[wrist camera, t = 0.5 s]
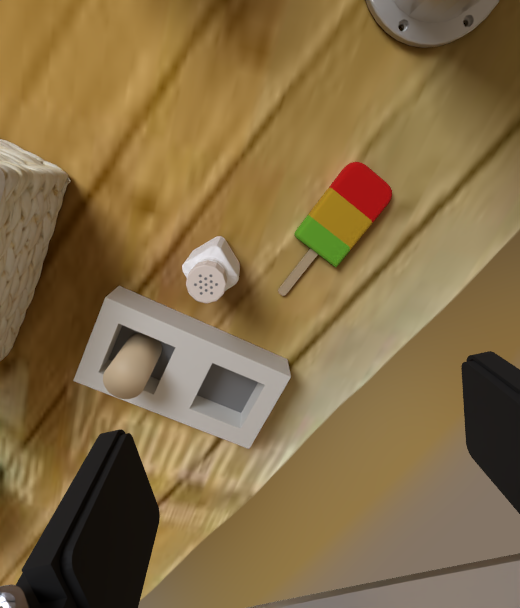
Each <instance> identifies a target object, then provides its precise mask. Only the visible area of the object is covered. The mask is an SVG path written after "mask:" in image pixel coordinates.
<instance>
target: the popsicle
mask: <svg viewBox="0 0 520 608" xmlns="http://www.w3.org/2000/svg"><path fill="white" fill-rule="evenodd" d="M391 197H392V190H391V188H390V186H389V185H388V184H387V183H386V182H385V181H384V180H383V179H381V178H380V177H379V176H378V175H377V174H376V173H374V172H373V171H372V170H371V169H370V168H369V167H367V166H366V165H364V164H363V163H360V162H353V163H350V164H348V165H347V166H346V167H345V168H344V169H343V170H342V171H341V172H340V174H339V175H338V176H337V178H336V179H335V180H334V182H333V183H332V184H331V186H330V187H329V188H328V189H327V191H326V192H325V193H324V195H323V196H322V197H321V199H320V200H319V201H318V203H317V204H316V205H315V207H314V208H313V209H312V210H311V212H310V213H309V214H308V216H307V217H306V218H305V220H304V221H303V222H302V224H301V225H300V226H299V227H298V229H297V230H296V232H295V236H296V238H297V239H299V240H300V241H301V242H303V243H304V244H305V245H307V246H308V247H309V248H310V249H309V251H308V252H307V253H306V255H305V256H304V257H303V258H302V260H301V261H300V262H299V263H298V265H297V266H296V267H295V269H294V270H293V271H292V272H291V274H290V275H289V276H288V277H287V279H286V280H285V281H284V283H283V284H282V285H281V286H280V288H279V289H278V292H279V294H281V295H282V296H285V295H286V294H287V293H288V292H289V290H290V289H291V288H292V287H293V285H294V284H295V283H296V282H297V280H298V279H299V278H300V276H301V275H302V274H303V273H304V271H305V270H306V269H307V268H308V266H309V265H310V264H311V263H312V261H313V260H314V259H315V258H316V256H317V255H320V256H321V257H322V258H324V259H325V260H326V261H328V262H329V263H330V264H332V265H333V266H334V267H337V266H338V265H339V263H340V262H341V261H342V260H343V259H344V257H345V256H346V255H347V254H348V252H349V251H350V250H351V249H352V248H353V246H354V245H355V244H356V243H357V241H358V240H359V239H360V238H361V237H362V235H363V234H364V233H365V232H366V230H367V229H368V228H369V227H370V226H371V224H372V223H373V222H374V221H375V219H376V218H377V217H378V216H379V215H380V213H381V212H382V211H383V210H384V208H385V207H386V206H387V205H388V203H389V202H390V200H391Z"/></svg>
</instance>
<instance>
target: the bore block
mask: <svg viewBox="0 0 520 608" xmlns="http://www.w3.org/2000/svg"><path fill="white" fill-rule="evenodd" d="M290 378H291V375H290V370H289V365H288V360H287V359H286V358H283V357H281V356H279V355H276V354H274V353H272V352H270V351H267V350H265V349H263V348H260V347H258V346H256V345H254V344H251V343H249V342H247V341H244V340H242V339H240V338H238V337H235V336H233V335H231V334H228V333H226V332H224V331H222V330H219V329H217V328H215V327H212V326H210V325H208V324H206V323H203V322H201V321H199V320H196V319H194V318H192V317H190V316H187V315H185V314H183V313H180V312H178V311H176V310H174V309H171V308H169V307H167V306H164V305H162V304H160V303H158V302H155V301H153V300H151V299H148V298H146V297H144V296H142V295H139V294H137V293H135V292H132V291H130V290H128V289H126V288H123V287H121V286H118V287H117V288H116V289H114V290H113V291H112V292H111V293H110V294H109V295H107V296H106V297H105V299H104V302H103V305H102V307H101V310H100V313H99V315H98V318H97V320H96V323H95V326H94V328H93V331H92V333H91V336H90V339H89V341H88V344H87V346H86V349H85V352H84V354H83V357H82V359H81V362H80V365H79V367H78V370H77V372H76V375H75V378H74V380H73V381H75V382H77V383H80V384H83V385H85V386H88V387H90V388H93V389H95V390H98V391H101V392H103V393H106V394H108V395H111V396H114V397H116V398H119V399H121V400H124V401H126V402H129V403H132V404H134V405H137V406H139V407H142V408H145V409H147V410H150V411H152V412H155V413H157V414H160V415H163V416H165V417H168V418H170V419H173V420H176V421H178V422H181V423H183V424H186V425H188V426H191V427H194V428H196V429H199V430H201V431H204V432H207V433H209V434H212V435H214V436H217V437H219V438H222V439H225V440H227V441H230V442H232V443H235V444H238V445H240V446H243V447H245V448H248V449H249V448H250V447H251V445H252V443H253V442H254V440H255V438H256V436H257V435H258V433H259V431H260V430H261V428H262V426H263V424H264V423H265V421H266V419H267V417H268V416H269V414H270V412H271V411H272V409H273V407H274V405H275V404H276V402H277V400H278V398H279V397H280V395H281V393H282V392H283V390H284V388H285V386H286V385H287V383H288V381H289V380H290Z"/></svg>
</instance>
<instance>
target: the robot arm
mask: <svg viewBox="0 0 520 608" xmlns="http://www.w3.org/2000/svg"><path fill="white" fill-rule="evenodd" d="M498 2H499V0H366V3H367V5H368V8H369V10H370V12H371V14H372V15H373V17H374V19H375V20H376V22H377V23H378V24H379V25H380V26H381V27H382V29H383V30H384V31H385V32H386V33H387V34H389V35H390V36H392V37H393V38H394V39H396V40H397V41H400V42H402V43H405V44H407V45H409V46H415V47H421V48H427V47H438V46H441V45H445V44H448V43H451V42H453V41H455V40H457V39H459V38H461V37H463V36H464V35H466V34H467V33H469V32H470V31H472V30H473V29H475V28H476V27H477V26H478V25H479V24H480V23H481V22H482V21H483V20H484V19H486V18H487V17H488V15H489V14H490V13H491V11H492V10H493V9H494V8H495V6H496V5H497V4H498ZM463 22H465V26H464V24H463ZM398 26H401V27H402V31H400V30H399V28H398ZM462 383H463V399H464V416H465V431H466V445H467V449H468V451H469V453H470V455H471V457H472V458H473V459H474V460H475V462H476V463H477V464H478V465H479V466H480V467H481V469H482V470H483V471H484V472H485V473H486V475H487V476H488V477H489V478H490V479H491V481H492V482H493V483H494V484H495V485H496V486H497V487H498V489H499V490H500V491H501V492H502V494H503V495H504V496H505V497H506V498H507V499H508V501H509V502H510V503H511V504H512V505H513V507H514V508H515V509H516V510H517V511H518V512H519V514H520V370H519V369H518V368H516V367H515V366H513V365H512V364H510V363H509V362H507V361H506V360H504V359H503V358H501V357H500V356H498V355H497V354H495V353H494V352H491V351H490V352H484V353H480V354H475V355H470V356H468V358H467V362H464V363H463V364H462ZM159 518H160V515H159V508H158V505H157V502H156V499H155V497H154V494H153V491H152V489H151V486H150V483H149V480H148V478H147V475H146V472H145V470H144V467H143V464H142V461H141V459H140V456H139V453H138V451H137V448H136V445H135V443H134V440H133V437H132V435H131V434H130V433H127V434H125V432H124V431H123V430H116V431H111V432H107V433H102V434H100V435H99V436H98V438H97V440H96V442H95V443H94V445H93V447H92V449H91V450H90V452H89V454H88V455H87V457H86V459H85V461H84V462H83V464H82V466H81V468H80V469H79V471H78V473H77V475H76V476H75V478H74V480H73V482H72V483H71V485H70V487H69V488H68V490H67V492H66V494H65V495H64V497H63V499H62V501H61V502H60V504H59V506H58V508H57V509H56V511H55V513H54V515H53V516H52V518H51V520H50V521H49V523H48V525H47V527H46V528H45V530H44V532H43V534H42V535H41V537H40V539H39V541H38V542H37V544H36V546H35V548H34V549H33V551H32V553H31V554H30V556H29V558H28V560H27V561H26V563H25V565H24V567H23V568H22V572H23V573H22V575H21V577H20V578H19V580H18V582H17V584H16V586H15V585H6V586H1V587H0V608H138V605H139V601H140V597H141V593H142V589H143V585H144V581H145V577H146V573H147V569H148V565H149V561H150V557H151V553H152V549H153V545H154V541H155V537H156V533H157V529H158V525H159ZM248 608H520V554H515V555H509V556H504V557H499V558H494V559H489V560H483V561H478V562H473V563H468V564H463V565H458V566H453V567H447V568H442V569H437V570H432V571H427V572H422V573H416V574H411V575H406V576H401V577H396V578H392V579H386V580H381V581H376V582H372V583H366V584H361V585H356V586H351V587H346V588H342V589H336V590H332V591H326V592H321V593H317V594H311V595H307V596H302V597H297V598H292V599H287V600H282V601H277V602H272V603H267V604H262V605H257V606H253V607H248Z"/></svg>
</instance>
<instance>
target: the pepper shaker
mask: <svg viewBox="0 0 520 608" xmlns="http://www.w3.org/2000/svg"><path fill="white" fill-rule="evenodd" d="M182 269H183V272H184V274H185V276H186V278H187V282H186V286H187V289H188V292H189V294H190V295H191V296H192V297H193V298H194V299H195V300H197V301H199V302H204V303H210V302H214V301H217V300H218V299H219V298H220V297H221V296H222V295H223V294H224V291H226V290H227V289H229V288H231V287H232V286H234V285H235V284H236V283H237V282H238V280H239V272H240V263H239V261H238V259H237V258H236V256H235V254H234V253H233V251H232V250H231V248H230V246H229V245H228V243H227V241H226V240H225V238H223V237H222V236H217V237H215V238H213V239H212V240H210V241H208V242H207V243H205V244H203V245H202V246H200V247H198V248H197V249H195V250H193V251H192V253H191V254H190V256H189V257H188V258H187V260H186V261H185V262H184V264H183V265H182Z"/></svg>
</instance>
